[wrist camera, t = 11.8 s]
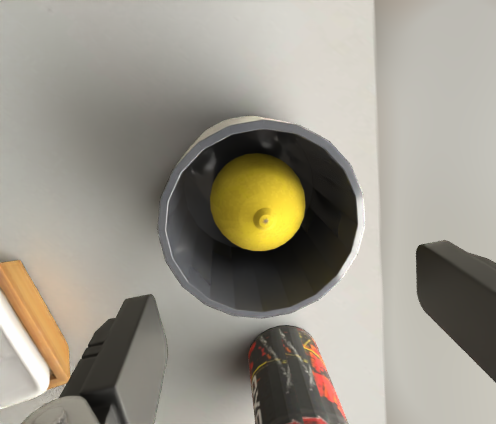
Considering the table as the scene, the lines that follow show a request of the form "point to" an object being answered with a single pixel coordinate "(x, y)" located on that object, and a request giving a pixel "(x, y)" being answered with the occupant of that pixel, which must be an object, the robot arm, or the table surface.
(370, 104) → the table surface
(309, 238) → the steel cup
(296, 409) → the deodorant
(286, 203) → the lemon
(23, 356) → the soap dish
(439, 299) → the robot arm
